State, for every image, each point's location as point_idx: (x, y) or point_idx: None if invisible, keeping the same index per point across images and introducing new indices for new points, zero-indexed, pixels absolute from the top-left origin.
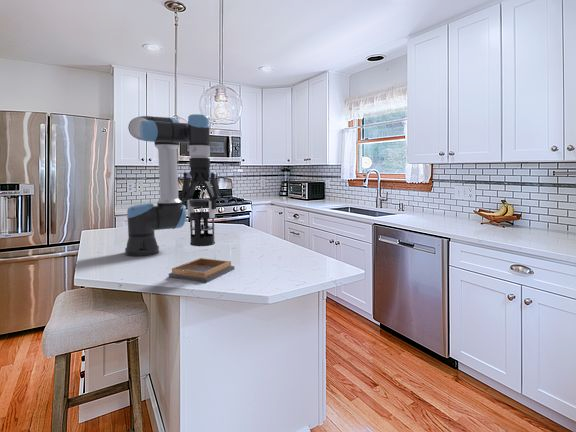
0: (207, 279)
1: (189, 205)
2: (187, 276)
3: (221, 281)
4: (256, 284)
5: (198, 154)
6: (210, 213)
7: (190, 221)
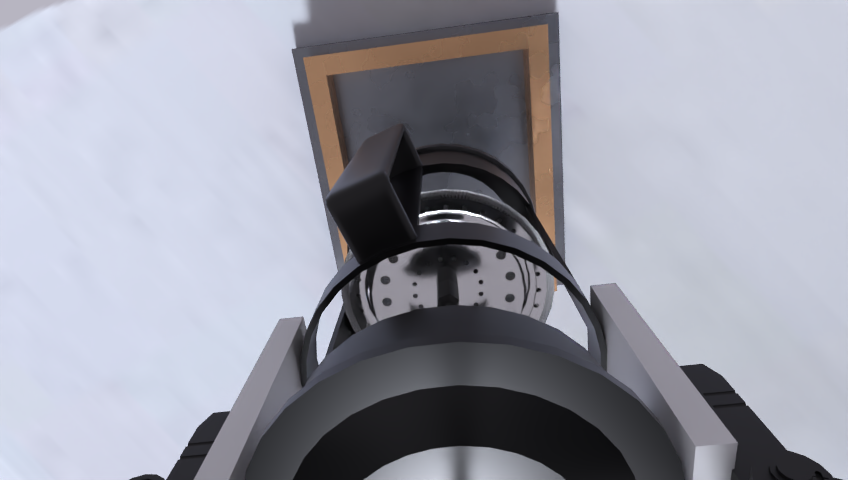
0: (293, 55)
1: (650, 382)
2: (421, 32)
3: (249, 105)
4: (78, 156)
5: None
6: (265, 352)
7: (557, 256)
